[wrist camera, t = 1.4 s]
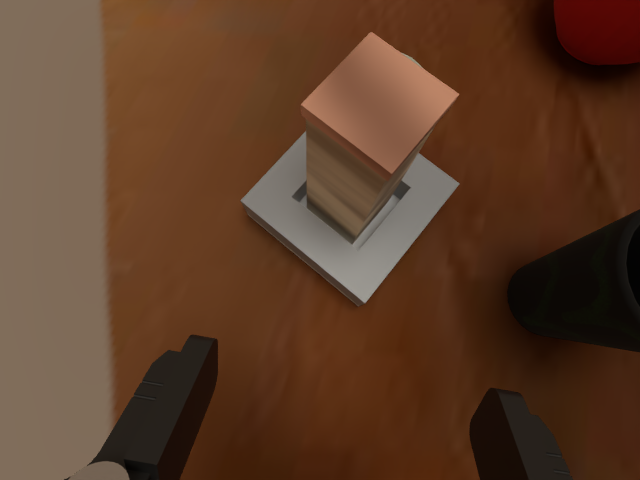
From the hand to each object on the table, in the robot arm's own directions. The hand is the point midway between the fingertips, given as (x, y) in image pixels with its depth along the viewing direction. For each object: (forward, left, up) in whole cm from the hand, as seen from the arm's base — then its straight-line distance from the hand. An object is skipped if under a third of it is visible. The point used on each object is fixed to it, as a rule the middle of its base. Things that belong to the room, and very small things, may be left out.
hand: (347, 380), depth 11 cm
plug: (-10, -6, -16) cm, 20 cm away
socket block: (-10, -6, -17) cm, 20 cm away
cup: (-14, +10, -17) cm, 24 cm away
